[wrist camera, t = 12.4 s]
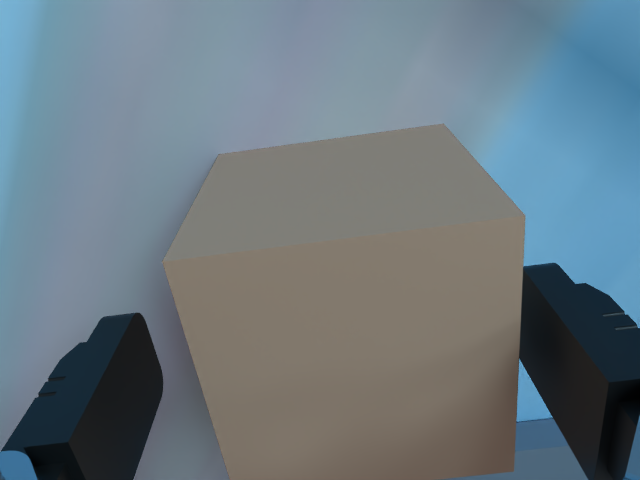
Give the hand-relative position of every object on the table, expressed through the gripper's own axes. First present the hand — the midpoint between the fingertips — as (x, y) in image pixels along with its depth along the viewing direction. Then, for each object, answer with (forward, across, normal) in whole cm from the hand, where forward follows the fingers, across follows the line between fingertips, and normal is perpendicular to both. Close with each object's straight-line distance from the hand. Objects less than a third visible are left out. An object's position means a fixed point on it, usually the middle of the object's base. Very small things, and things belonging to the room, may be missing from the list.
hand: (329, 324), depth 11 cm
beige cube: (+4, -1, 0) cm, 4 cm away
